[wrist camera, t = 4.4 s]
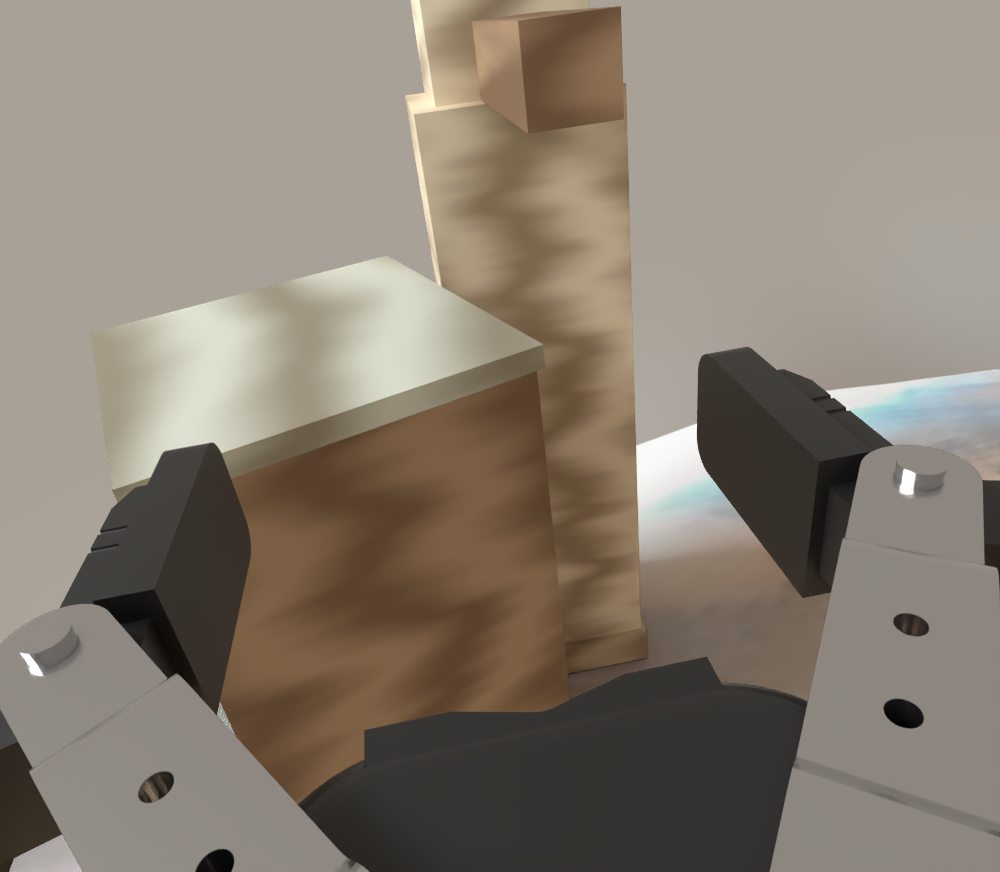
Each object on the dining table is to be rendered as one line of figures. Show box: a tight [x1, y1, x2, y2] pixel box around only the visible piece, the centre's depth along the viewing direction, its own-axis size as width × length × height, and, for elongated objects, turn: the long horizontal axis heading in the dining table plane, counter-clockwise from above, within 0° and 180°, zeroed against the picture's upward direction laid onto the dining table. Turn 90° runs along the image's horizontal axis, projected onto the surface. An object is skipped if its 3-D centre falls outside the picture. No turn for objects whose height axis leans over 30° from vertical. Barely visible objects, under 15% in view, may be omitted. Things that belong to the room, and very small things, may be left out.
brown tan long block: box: [411, 0, 624, 134], centre depth 29 cm, size 7×18×6 cm, turn 9°
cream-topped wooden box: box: [90, 256, 570, 805], centre depth 33 cm, size 12×13×28 cm
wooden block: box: [405, 83, 648, 674], centre depth 43 cm, size 10×10×34 cm
